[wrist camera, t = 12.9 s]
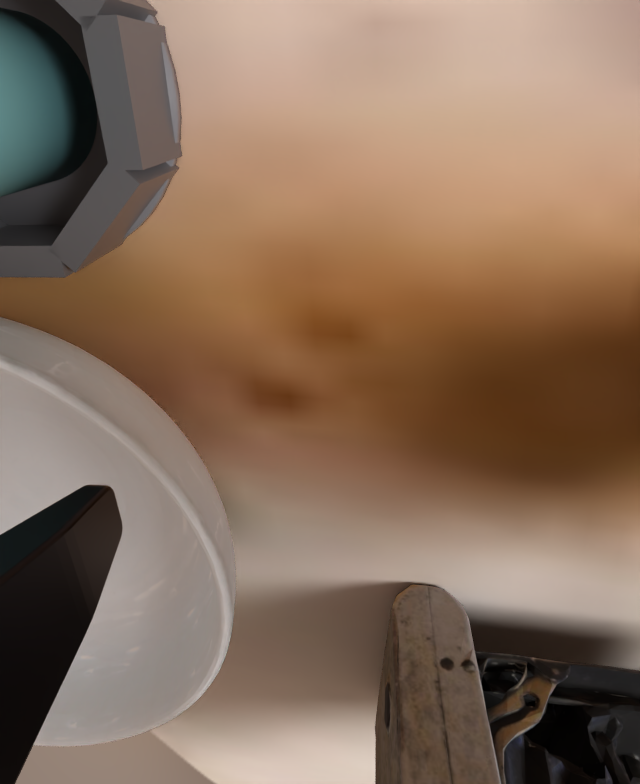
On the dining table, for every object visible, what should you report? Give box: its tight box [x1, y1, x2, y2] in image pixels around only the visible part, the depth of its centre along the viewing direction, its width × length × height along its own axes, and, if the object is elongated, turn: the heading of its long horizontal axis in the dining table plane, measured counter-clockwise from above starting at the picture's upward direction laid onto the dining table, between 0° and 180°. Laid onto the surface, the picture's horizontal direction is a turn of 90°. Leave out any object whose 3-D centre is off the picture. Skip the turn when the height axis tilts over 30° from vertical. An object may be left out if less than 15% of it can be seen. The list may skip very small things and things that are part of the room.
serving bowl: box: [0, 317, 236, 747], centre depth 24 cm, size 21×21×7 cm
